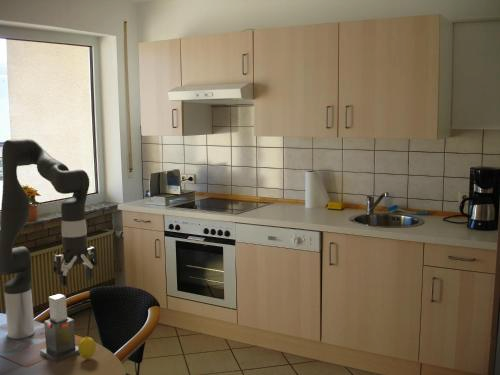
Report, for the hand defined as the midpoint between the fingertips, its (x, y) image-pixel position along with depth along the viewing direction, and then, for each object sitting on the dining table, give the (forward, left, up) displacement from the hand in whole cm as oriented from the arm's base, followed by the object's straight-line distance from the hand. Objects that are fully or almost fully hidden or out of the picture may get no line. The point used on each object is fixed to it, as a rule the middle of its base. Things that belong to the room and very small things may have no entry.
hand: (76, 282), depth 173 cm
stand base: (-14, +1, -29) cm, 32 cm away
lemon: (-3, +4, -29) cm, 29 cm away
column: (-14, +1, -27) cm, 30 cm away
